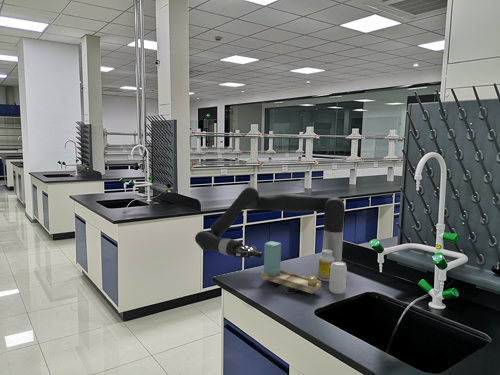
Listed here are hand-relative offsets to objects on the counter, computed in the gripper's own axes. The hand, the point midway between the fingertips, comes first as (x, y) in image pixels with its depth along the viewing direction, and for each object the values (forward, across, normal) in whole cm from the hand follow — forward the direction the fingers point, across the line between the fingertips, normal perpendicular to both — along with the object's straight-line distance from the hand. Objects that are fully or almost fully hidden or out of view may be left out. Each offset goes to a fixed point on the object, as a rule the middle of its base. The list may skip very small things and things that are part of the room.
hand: (261, 255), depth 156 cm
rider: (+6, 0, +6) cm, 9 cm away
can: (+31, +10, +11) cm, 34 cm away
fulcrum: (+15, 0, +11) cm, 18 cm away
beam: (+15, 0, +8) cm, 17 cm away
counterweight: (+25, 0, +7) cm, 26 cm away
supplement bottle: (+22, +19, +11) cm, 31 cm away
